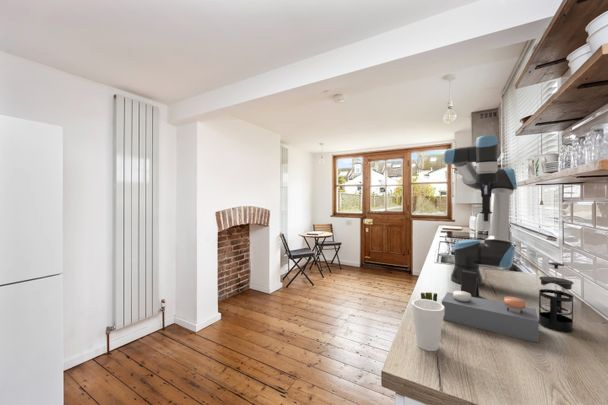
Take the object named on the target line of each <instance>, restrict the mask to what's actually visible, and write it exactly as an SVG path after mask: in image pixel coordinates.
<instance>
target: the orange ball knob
mask: <svg viewBox="0 0 608 405" xmlns="http://www.w3.org/2000/svg"><path fill="white" fill-rule="evenodd" d="M503 303H504V304H505V305H506V306H508V307H509V311H511V312H516V313H521V309H525V308H526V307H527V304H526V300H524V299H522V298H520V297H515V296H504V297H503Z"/></svg>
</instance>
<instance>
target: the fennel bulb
mask: <svg viewBox="0 0 608 405" xmlns="http://www.w3.org/2000/svg"><path fill="white" fill-rule="evenodd" d="M420 299H427V300H433V301H436V302H438V293H437V292H434V293H433V292H420Z"/></svg>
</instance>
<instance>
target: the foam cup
mask: <svg viewBox="0 0 608 405" xmlns="http://www.w3.org/2000/svg"><path fill="white" fill-rule="evenodd" d="M411 312H412V318H413V319H412V320H413V326H414V334H415V341H416V346H418V347H419V349H422V350H423V351H428V352H436V351H438V350H439V347H440V344H441V336H442V330H443V329H442V328H443V322H444V319H443V317H444V315H445V307H444V306H443V305H442V302H441V303H440V302H439V301H437V302H436V301H433V299H432V300H427V299H421V298H417V299H413V300H412V301H411Z"/></svg>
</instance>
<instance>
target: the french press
mask: <svg viewBox="0 0 608 405" xmlns="http://www.w3.org/2000/svg"><path fill="white" fill-rule="evenodd" d="M548 265H551V266H553V268H554V270H555V272H554V274H555V275H554V276H545V275H544V276H543V275H542V276H539V280H540V284H541V285H542V286H546V285H548V284H554V289H548V288H547V289H546V288H544V289H542V288H541V289H539V290H538V291H539V292H538V308H539V309H538V320H539V325H540V326H542V327H543V328H546V329H547V330H552V331H554V332H560V333H568V334H570V333H574V332H575V329H574V295H572V294H571V293H568V292H565V291H562V290H558V289H557V286H559V287H561V288H562V289H565V290H566V291H567V290H568V291H569V290H573V289H572V287H573V286H572V285H574V282H573V281H571V280H569V279H565V278H561V277H558V276H557V273H558V269H559V266H560V267H564V266H565V264H563V263H559V262H553V261H552V262H548ZM550 294H553V295H554V296H553V295H550ZM542 297H543V298H546V299H548V300H550V301H549V303H542V301H541V300H542ZM565 302H567V303H571V309H569V308H566V307H563V303H565ZM541 309H542V310H543V311H542V310H541ZM568 316H571V318H570V317H568Z"/></svg>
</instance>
